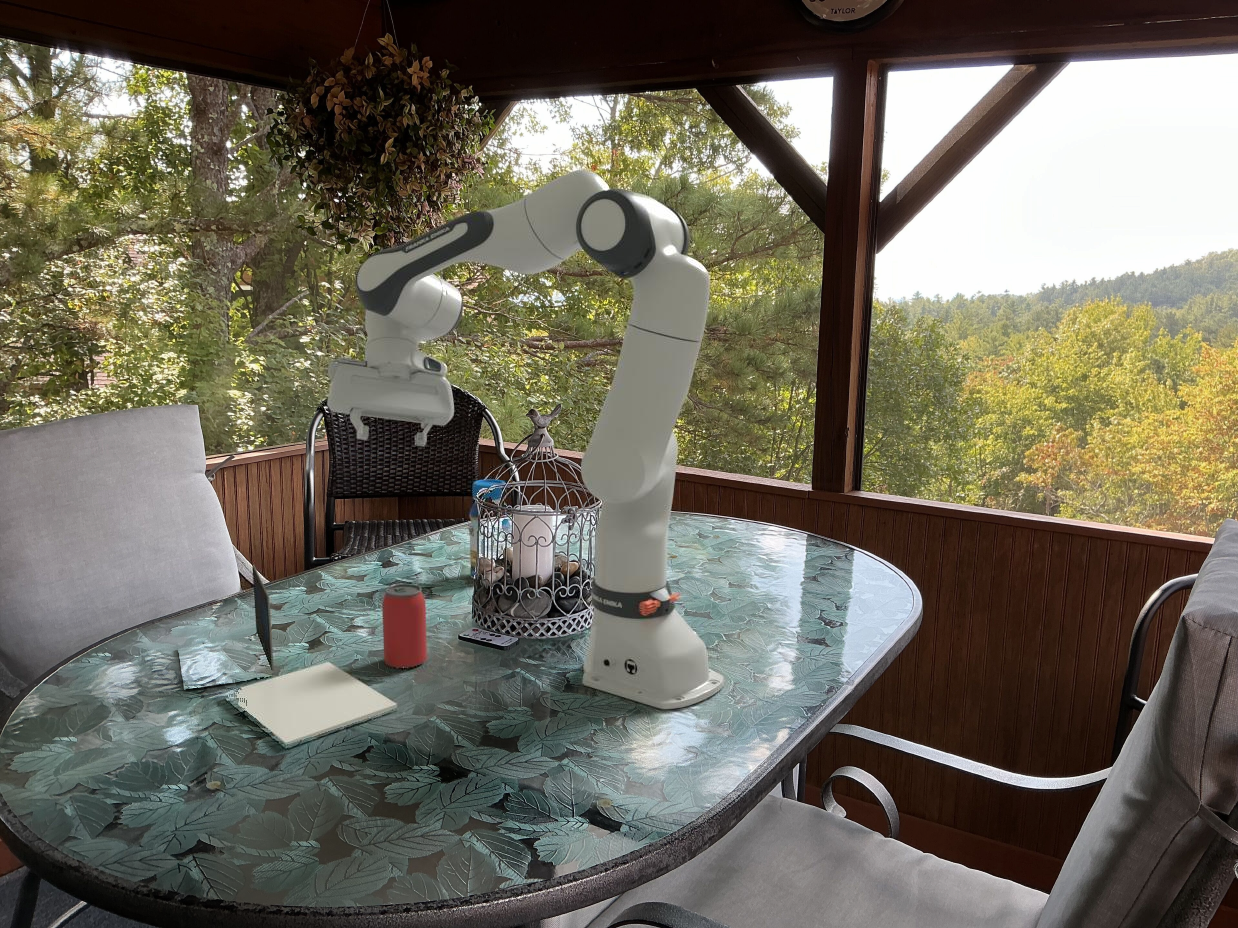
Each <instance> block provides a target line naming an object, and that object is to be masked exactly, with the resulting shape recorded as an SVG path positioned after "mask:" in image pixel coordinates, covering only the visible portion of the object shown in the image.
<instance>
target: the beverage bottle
mask: <svg viewBox="0 0 1238 928" xmlns="http://www.w3.org/2000/svg"><path fill="white" fill-rule="evenodd" d="M504 484H506V482H505V480H500V479H495V478H494V479H493V478H491V479H490V478H489V479H486V478H485V479H479V480H475V481H473V483H472V498H473V500H474V503H473V504H472V506H471V509H470V510H469V511H470V512H469V513H468V514H469V515H468V516H469V519H470V523H469V525H468V532H469V547H470V549H469V551H470V552H469V553H470V555H469V556H470V557H469V558H470V572H469V573H470V577H471V579H472V578H474V575H475V567H476V559H477V531H478V513H477V505H476V495H477V493H478V492H479V490H480V489H482V488H489V487H491V486H493V485H504ZM506 485H507V484H506ZM505 492H506V493H507V488H506V489H505ZM501 494H502V489H501V488H495V489H493V490H492V492H491V493H485V495H484V496H483V498H484V499H486V498H489V497H491V499H492V502H494V503H495V504H498V503H499V501H500V498H501ZM506 497H507V494H506V495H505V499H506ZM504 505H506V506H507V507H508V505H507V503H505V501H504ZM511 527H512V526H511V522H510V521H509V519H504V520H503V521H502V529H503V531H505V532H506V533H510V534H511V531H512V528H511ZM494 532H495V527H494ZM492 546H494V540H493V541H492ZM501 550H503V547H502V546H501ZM481 554H482V556H484V555H485V541H484V539H482V541H481Z"/></svg>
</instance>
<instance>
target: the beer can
mask: <svg viewBox="0 0 1238 928" xmlns="http://www.w3.org/2000/svg"><path fill="white" fill-rule="evenodd" d="M384 592H385V595H384V597H383V600H382V602H381V603H382V605H381V608H382V609H381V610H382V612H381V613H382V637H383V638H382V639H383V640H382V641H383V660H384V663H385V665H387V666H388V667H390V666H392V667H391V668H393V667H398V668H397V669H399V668H403V667H404V668H407V667H413V668H415V667H414V666H416V667H418V666H417V665H419V666H421V665H422V664H424V663H425V662H426V661H427V657H428V649H427V648H428V646H427V642H428V641H427V615H426V614H427V613H426V611H427V610H426V608H427V607H426V598H425V595H424V594H423V592H422V587H421V586H419V585H417V584H411V583H400V584H395V585H392V586H389V587H387V588H386V589H385V590H384ZM421 663H422V664H421ZM420 664H421V665H420ZM407 669H408V668H407Z"/></svg>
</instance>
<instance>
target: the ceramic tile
mask: <svg viewBox="0 0 1238 928" xmlns="http://www.w3.org/2000/svg"><path fill="white" fill-rule="evenodd" d="M240 688H241V689H242V690H240V689H239V690H238V692H239V694H238V692H237V694H236V692H235V694H236V695H237V698H239V702H238V705H239V706H240V707H242V708H245V709H244V710H245V711H247V712H248V713H249V714H250V715H252V716H253V717H254V718H256V719H257V720H258V721H259V722H260V723H261V724H262V725H263V726H265V727H266V728H268V730H270V732H272V733H273V734H274V735H275V736H277V737H278V738H279V739H280V740H281V741H282V742H283V743H285V744H286V745H287V744H291V743H293V742H297V741H300V740H304V739H306V738H309V737H314V736H317V735H319V734H322V733H325V732H328V731H331V730H334V729H337V728H340V727H344V726H347V725H350V724H352V723H355V722H358V721H362V720H364V719H367V718H371V717H373V716H376V715H380V714H382V713H384V712H387V711H390V710H392V709H395V708H397V709H398V703H396V702H394V701H393V700H392V699H389V698H388V697H386V696H385V695H383V694H381V693H380V692H378V691H376V690H375V689H373V688H371V687H370V686H368V685H367V684H365V683H364V682H362V681H361V680H358V679H357V678H355V677H354V676H352V675H350V674H349V673H347V672H346V671H344V670H342V669H341V668H339V667H337V666H336V665H334V664H333V663H331V662H329V661H326V662H323V663H319V664H316V665H313V666H310V667H307V668H303V669H300V670H296V671H293V672H290V673H285V674H281V675H280V676H276V677H271V678H267V679H265V680H262V681H258V682H256V683H252V684H248V685H244V686H241V687H240ZM226 695H227V694H226ZM228 697H229V694H228ZM229 698H234V697H231V695H230V697H229ZM235 698H236V697H235ZM240 698H241V702H240ZM242 698H243V702H242ZM244 698H245V703H244ZM246 700H247V706H246Z"/></svg>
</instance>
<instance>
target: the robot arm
mask: <svg viewBox="0 0 1238 928" xmlns="http://www.w3.org/2000/svg"><path fill="white" fill-rule="evenodd" d="M690 235H691V234H690V229H689V228H688V225H687V222H686V221H685V219H684V218H683V217H682V216H681V214H680V213H678V211H677V210H675V209H674V208H672V207H671V206H669V205H666V204H664V203H661V202H659V201H658V200H656V199H655V198H653V197H651V196H649V195H647V194H646V195H645V194H643V193H638V192H634V191H630V190H629V189H628V190H627V189H623V188H610V187H609V185H608V183H606V181H605V180H604V179H603V178H602V177H601V176H600V175H598V174H597V173H596V172H594V171H592V170H589V169H583V168H582V169H577V170H574V171H570V172H568V173H566V174H564V175H562V176H560V177H557V178H554V179H553V180H551V181H549V182H547V183H545V184H543V185H542V186H540V187H538V188H536V189H535V190H533V191H532V192H530V193H529V194H526V196H524V197H522V198H521V199H518V200H517V201H514V202H512V203H509V204H507V205H504V206H500V207H496V208H493V209H488V210H487V209H486V210H477V211H471V212H468V213H465V214H462V215H459V216H457V217H456V218H453V219H451V220H449V221H447V222H444V223H443V224H440V225H438V226H437V227H435V228H432V229H431V230H429V231H426V232H424V233H422V234H421V235H419V236H417V237H415V238H413V239H411V240H409V241H406V242H405V243H402V244H399V245H397V246H394V247H389V248H385V249H382V250H378V251H377V252H375V253H373V254H371V255H370V256H368V257H367V258H366V259H365V260H364V261H363V262H362V263H361V264H360V266H359V268H358V270H357V272H356V276H355V288H356V291H357V292H356V293H357V296H358V298H359V300H360V303H361V305H362V307H363V308H364V309H365V319H364V322H365V325H364V326H365V327H364V328H365V331H366V334H367V340H366V343H365V346H364V360H360V359H349V358H345V357H338V358H337V359H332V360H330V362H329V363H328V365H327V376H328V379H329V380H330V381H331V382H330V384H329V389H328V395H327V407H328V408H329V409H330V411H331V412H333V413H340V414H346V415H347V414H348V415H349V420H350V423H352V425H353V427H354V429H355V430H356V439H357V440H363V441H364V440H365V441H367V440H368V438H369V434H370V432H369V430H370V427H369V426H367V425H364V423H363V422H362V420H361V417H362V416H363V417H369V418H370V417H373V418H380V419H385V420H386V419H387V420H395V421H405V422H412V423H418V424H419V423H420V428H421V429H423V431H422V432H417V433H416V434H415V435H414V441H415V442H414V445H415V446H418V447H425V446H426V445H427V442H428V441H427V439H428V438H427V436H428V435H427V434H428V433H429V432H430V430H431V428H432V427H433V425H435V426H445V425H447V424H448V423H449V422H450V421H451V420H452V419H453V417H454V413H455V405H454V403H455V402H454V397H453V396H454V395H453V391H452V389H453V388H452V386H451V383H450V381H449V380H448V379H446V375H447V373H448V366H447V364H446V363H444V362H442V361H440V360H437V359H435V358H434V357H432V356H430V355H427V354H425V353H423V352H422V351H420V350H419V345H420V344H421V342H431V341H433V340H437V339H439V338H440V339H441V338H443V337H445V336H447V335H449V334H451V333H452V332H453V331H455V330H456V328H457V327H458V326H459V324H460V322H461V320H462V319H461V318H462V316H463V312H464V311H463V310H464V301H463V297H462V293H461V291H460V290H459V289H458V288H457V287H455V286H454V285H453V284H451V283H450V282H448V281H446V280H445V279H443V278H441V277H439V276H437V275H436V274H435V273H437V272H440V271H441V270H444V269H445V268H448V267H450V266H452V265H454V264H458V263H468V262H472V263H480V264H484V265H490V266H493V267H498V268H501V269H504V270H507V271H511V272H513V273H518V274H521V275H522V274H523V275H535V274H539V273H542V272H545V271H548V270H551V269H552V268H554V267H556V266H558V265H559V264H561V263H562V262H564V261H566V260H567V259H569V258H570V257H572V256H573V255H575V254H576V253H578V252H580V251H582V250H583V251H584V253H585V254H586V255H587V256H588V257H589V258H591V259H592V260H593V261H595V263H597V264H599V265H600V266H602V267H603V268H605V269H606V270H608V271H609V272H610V273H612V274H614V275H615V276H616V277H618V278H619V279H621V280H626V279H629V280H630V282H631V285H632V286H633V298H632V299H633V300H632V305H631V309H630V313H629V316H628V320H627V323H626V329H625V333H624V337H623V340H622V345H621V348H620V354H619V357H618V361H617V365H616V369H615V372H614V375H613V380H612V381H611V385H610V387H609V390H608V392H607V395H606V397H605V400H604V402H603V405H602V407H601V410H600V413H599V416H598V418H597V421H596V424H595V426H594V429H593V432H592V435H591V438H590V441H589V443H588V445H587V448H586V450H585V451H584V454H583V456H582V459H581V463H580V473H581V479H582V482H583V484H584V486H585V487H586V489H587V490H588V491H589V493H590V494H591V495H592V496H594V497H595V498H596V499H598V500H600V501H602V503H601V508H600V512H599V513H600V514H599V518H598V522H597V525H596V528H595V532H594V533H595V534H594V535H595V537H594V538H595V539H594V542H595V543H594V578H593V580H592V582H591V590H590V596H591V605H592V607H593V615H592V621H591V625H590V632H589V640H588V648H587V652H586V657H585V660H584V663H583V665H582V667H583V669H582V670H583V672H584V673H583V676H582V681H581V682H582V684H583V686H586V687H589V688H593V689H596V690H599V691H603V692H606V693H609V694H612V695H615V696H618V697H622V698H625V699H628V700H632V701H634V702H638V703H641V704H644V705H648V706H651V707H654V708H658V709H662V710H671V709H673V710H674V709H678V708H684V707H688V706H691V705H694V704H697V703H699V702H701V701H704V700H706V699H708V698H710V697H712V696H714V695H716V694H717V693H718V692H719V691H720V690H721V689H722V688H723V687H724V684H725V681H724V680H725V679H724V678H725V677H724V675H722V674H720V673H719V672H717V671H714V669H711V668H710V667H709V655H708V650H707V649H708V648H707V647H706V646H707V645H706V644H705V642H704V641H703V640H702V639H701V637H699V635H698V634H697V632H695V631H694V630H693V629H692V627H691V626H690V625H689V624H688V623H687V622H686V620H684V618H683V617H682V616H681V614H679V612H678V611H677V610H676V609H675V608H676V604H675V602H677V601H680V600H681V598H680V597H679V596H680V595H681V593H680V592H677V593H674V594H673V593H672V589H671V587H670V583H669V581H668V580H667V572H668V538H669V537H668V536H669V527H670V518H671V512H672V505H673V500H674V499H673V498H674V489H675V483H676V481H675V480H676V474H677V473H676V472H677V461H678V460H677V459H678V454H679V443H678V438H677V437H676V434H675V432H674V428H675V426H676V423H677V421H678V418H679V415H680V413H681V410H682V408H683V405H684V403H685V402H686V401H685V400H686V399H687V396H688V393H689V390H690V386H691V383H692V379H693V375H694V371H695V368H696V364H697V360H698V356H699V351H700V350H701V345H702V341H703V337H704V332H705V328H706V324H707V323H706V322H707V318H708V313H709V302H710V293H711V291H710V290H711V278H710V274H709V272H708V270H707V269H706V267H705V266H704V265H703V264H702V263H701V262H699V261H698V260H696V259H695V258H693V257H691V256H688V255H687V254H688V252H689V250H690V249H689V248H690V246H691V245H690V244H691V243H690V242H691V236H690Z"/></svg>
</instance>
